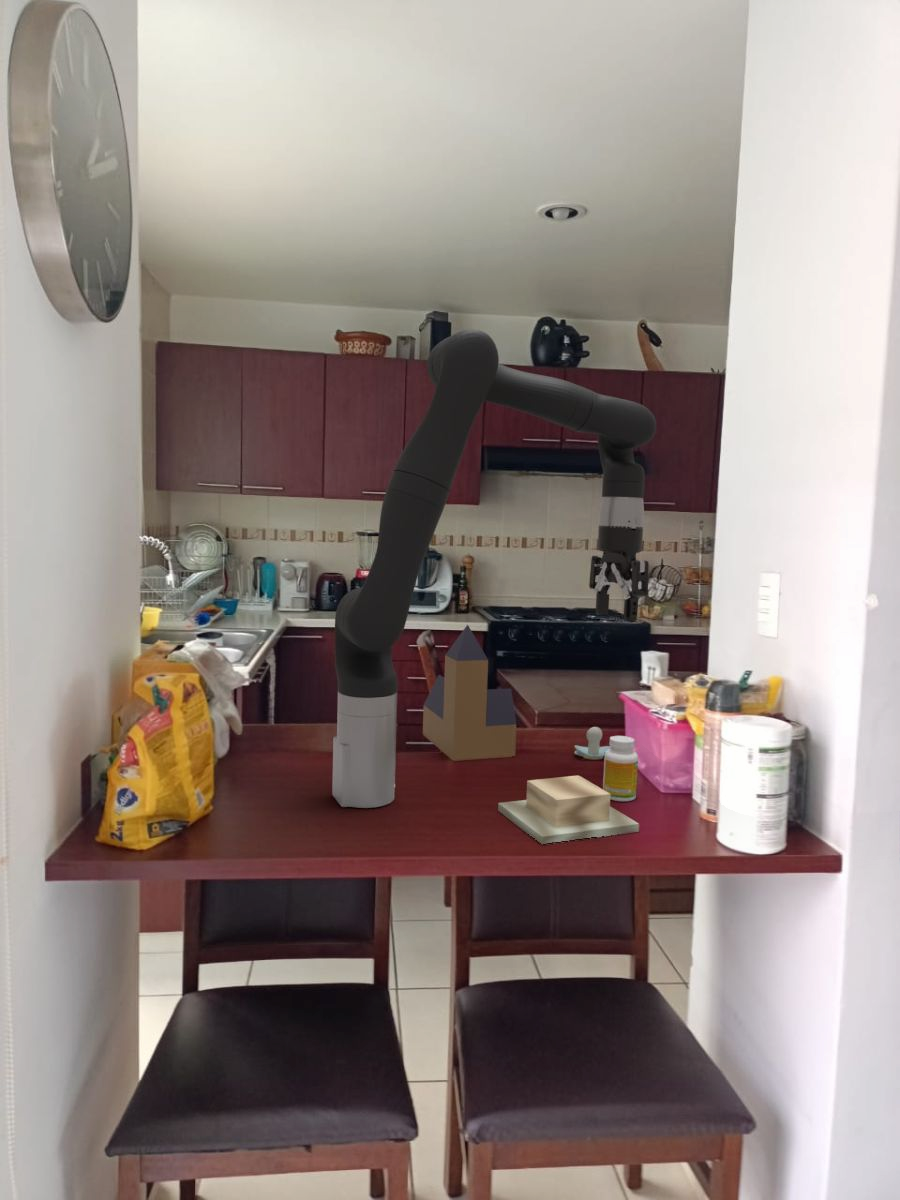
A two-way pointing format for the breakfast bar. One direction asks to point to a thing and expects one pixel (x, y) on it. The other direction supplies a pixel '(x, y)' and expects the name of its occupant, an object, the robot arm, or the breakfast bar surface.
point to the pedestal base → (568, 831)
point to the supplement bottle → (620, 769)
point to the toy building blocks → (469, 707)
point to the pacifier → (592, 745)
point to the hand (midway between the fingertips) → (615, 617)
